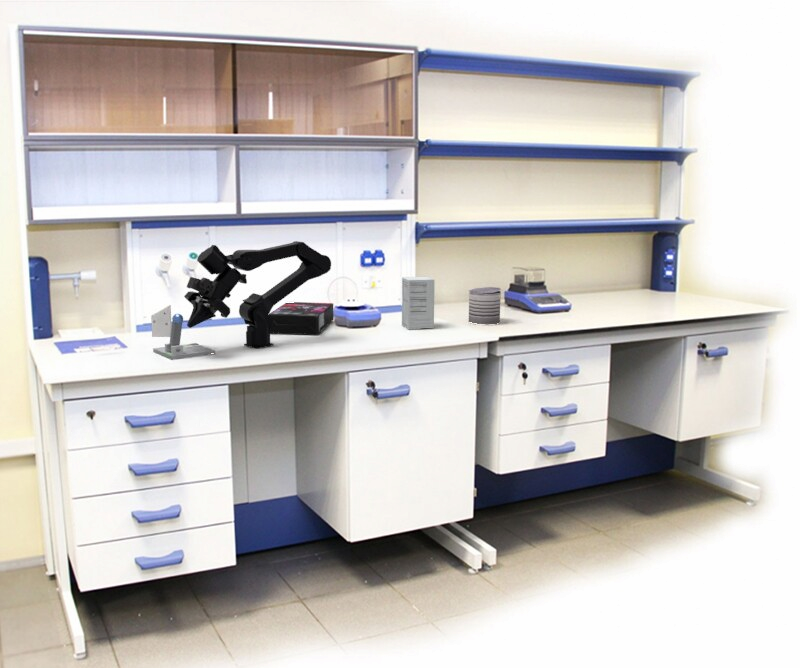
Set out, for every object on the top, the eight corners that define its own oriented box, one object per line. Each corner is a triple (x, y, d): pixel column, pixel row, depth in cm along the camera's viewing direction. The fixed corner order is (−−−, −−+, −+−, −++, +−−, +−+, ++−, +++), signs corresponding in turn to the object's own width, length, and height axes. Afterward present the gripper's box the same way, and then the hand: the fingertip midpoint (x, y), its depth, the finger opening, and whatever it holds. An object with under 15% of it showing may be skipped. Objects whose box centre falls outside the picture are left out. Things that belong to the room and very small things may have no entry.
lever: (176, 349, 241) (181, 313, 240) (181, 351, 239) (185, 314, 238) (166, 348, 239) (171, 312, 238) (171, 350, 237) (175, 314, 236)
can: (503, 324, 294) (505, 290, 292) (471, 325, 293) (472, 291, 291) (496, 319, 306) (497, 286, 303) (465, 319, 304) (465, 286, 302)
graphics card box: (265, 314, 273) (287, 299, 299) (266, 335, 274) (287, 318, 301) (317, 316, 271) (334, 301, 297) (317, 337, 272) (334, 320, 298)
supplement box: (434, 329, 285) (435, 279, 282) (407, 330, 283) (408, 280, 280) (426, 324, 294) (427, 276, 291) (401, 325, 292) (401, 276, 289)
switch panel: (195, 346, 254) (194, 334, 253) (214, 353, 244) (214, 341, 243) (153, 351, 246) (152, 339, 245) (172, 359, 236) (171, 347, 235)
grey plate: (184, 329, 268) (169, 305, 266) (157, 344, 268) (142, 321, 267) (186, 327, 271) (171, 303, 270) (159, 342, 272) (145, 319, 270)
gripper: (189, 263, 248) (155, 304, 243) (219, 269, 234) (183, 313, 229) (215, 288, 254) (181, 328, 249) (245, 295, 240) (210, 338, 235)
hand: (188, 326), depth 241 cm, fingers closed
